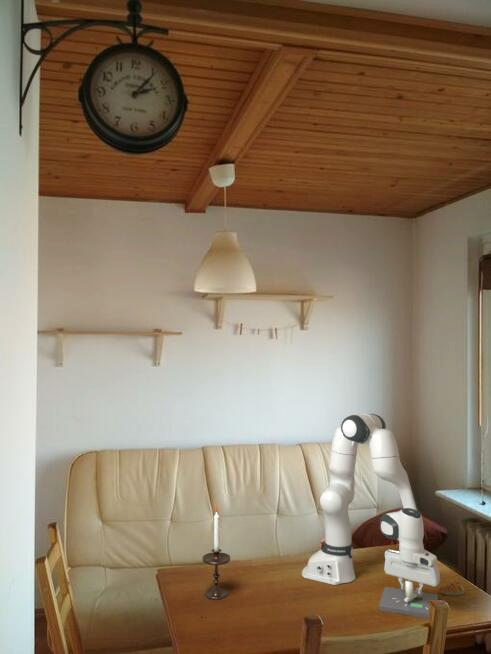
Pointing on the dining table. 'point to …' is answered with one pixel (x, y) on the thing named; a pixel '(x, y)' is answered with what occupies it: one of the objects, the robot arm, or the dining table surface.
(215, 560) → the candlestick
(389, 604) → the dial plate
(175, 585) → the dining table surface
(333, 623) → the dining table surface
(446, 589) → the pastry
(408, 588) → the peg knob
